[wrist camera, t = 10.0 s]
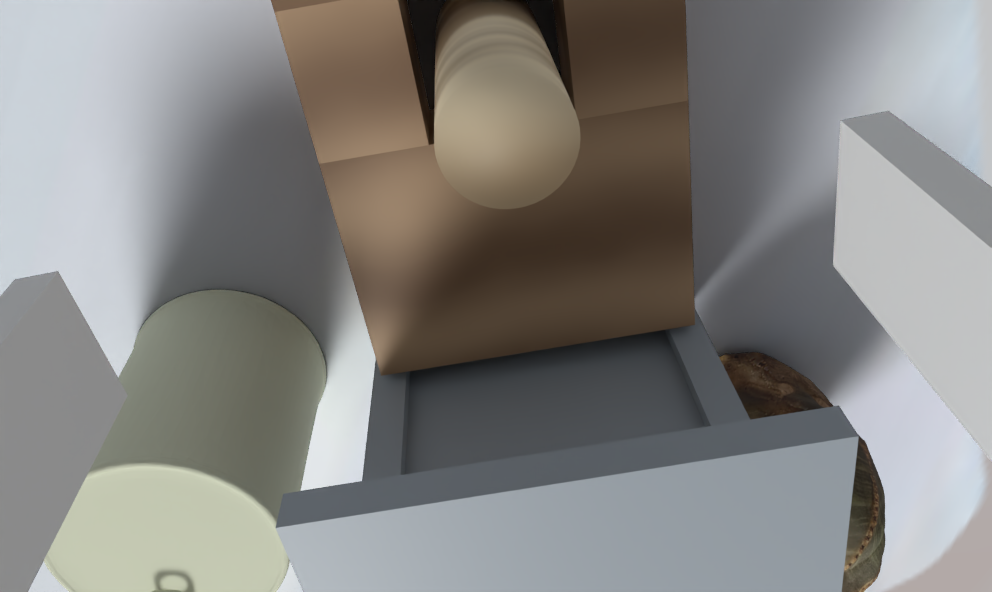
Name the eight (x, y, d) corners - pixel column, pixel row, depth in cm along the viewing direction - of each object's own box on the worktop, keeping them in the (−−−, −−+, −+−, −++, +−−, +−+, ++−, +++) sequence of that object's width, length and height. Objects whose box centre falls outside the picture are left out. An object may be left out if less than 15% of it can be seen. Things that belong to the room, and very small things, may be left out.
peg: (426, -10, 31) (419, 83, 21) (528, -29, 31) (572, 57, 21) (446, 90, 33) (449, 219, 23) (542, 73, 33) (587, 195, 23)
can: (152, 438, 42) (60, 643, 32) (118, 286, 37) (-3, 471, 27) (331, 438, 43) (298, 638, 33) (321, 289, 38) (277, 470, 28)
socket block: (283, -45, 30) (263, -25, 27) (654, -112, 30) (682, -100, 26) (386, 325, 39) (381, 375, 36) (672, 278, 39) (694, 324, 35)
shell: (620, 335, 40) (681, 517, 30) (835, 324, 41) (967, 499, 31) (609, 492, 46) (657, 689, 36) (798, 480, 47) (899, 672, 36)
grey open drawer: (345, 217, 36) (275, 527, 21) (678, 161, 36) (858, 436, 20) (385, 359, 40) (352, 704, 25) (684, 311, 40) (837, 631, 25)
